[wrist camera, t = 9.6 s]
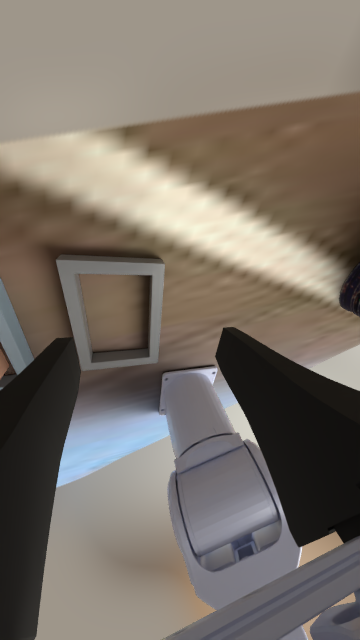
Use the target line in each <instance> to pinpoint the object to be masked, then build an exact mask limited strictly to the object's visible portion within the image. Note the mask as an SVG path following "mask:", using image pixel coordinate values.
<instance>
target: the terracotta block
mask: <svg viewBox="0 0 360 640" xmlns="http://www.w3.org/2000/svg"><path fill="white" fill-rule="evenodd" d="M8 367H9V364H8V362H7V360H6V358H5V356H4V354H3V352H2V350H1V349H0V380H1V378H2V376H3V375H4V373H5V372H6V370H7V369H8Z"/></svg>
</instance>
